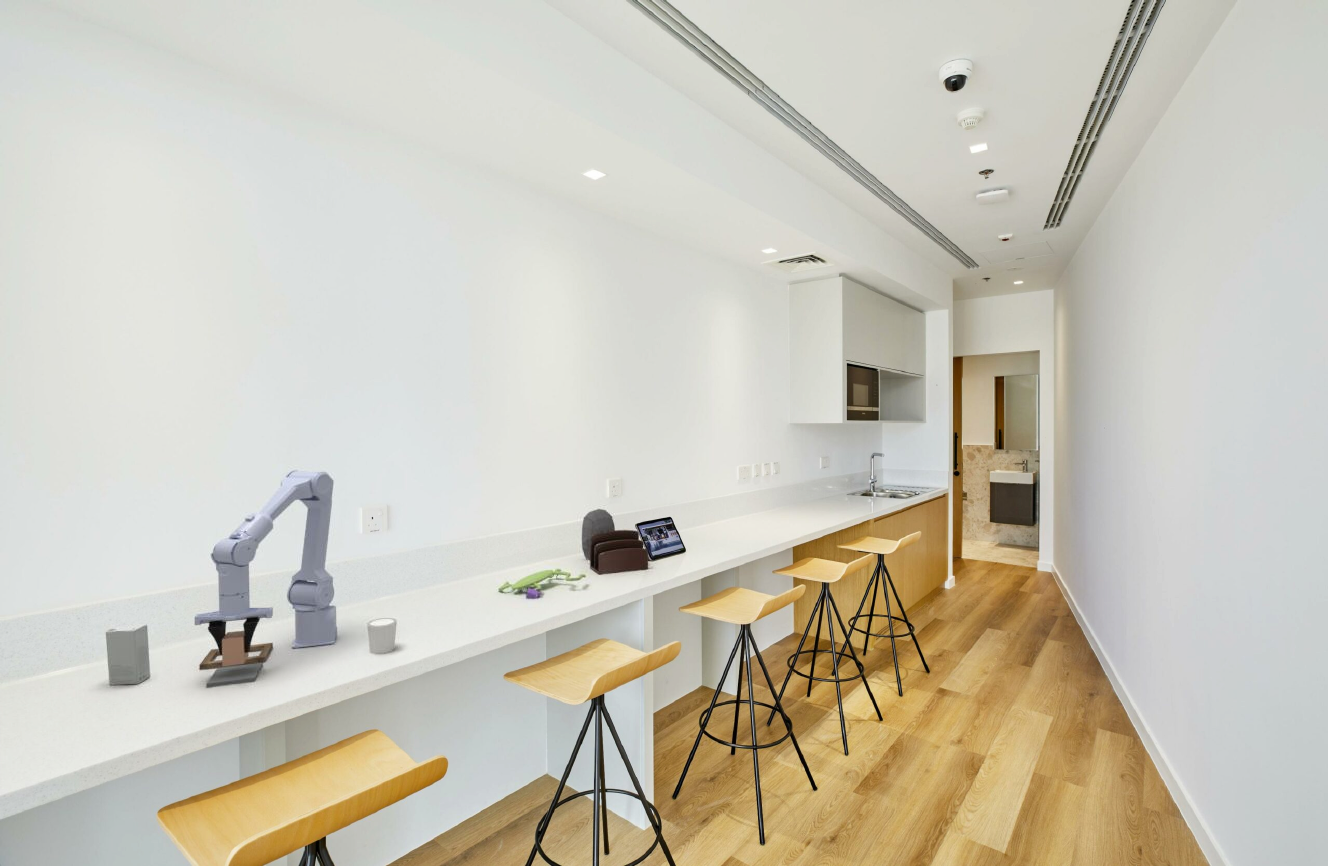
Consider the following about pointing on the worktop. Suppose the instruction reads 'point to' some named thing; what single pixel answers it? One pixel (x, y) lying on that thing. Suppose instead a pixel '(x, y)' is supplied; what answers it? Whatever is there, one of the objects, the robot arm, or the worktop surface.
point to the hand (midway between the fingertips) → (235, 652)
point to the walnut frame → (264, 654)
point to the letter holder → (617, 552)
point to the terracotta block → (233, 648)
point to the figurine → (536, 579)
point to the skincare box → (128, 654)
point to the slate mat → (235, 674)
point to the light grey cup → (382, 635)
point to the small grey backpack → (595, 527)
